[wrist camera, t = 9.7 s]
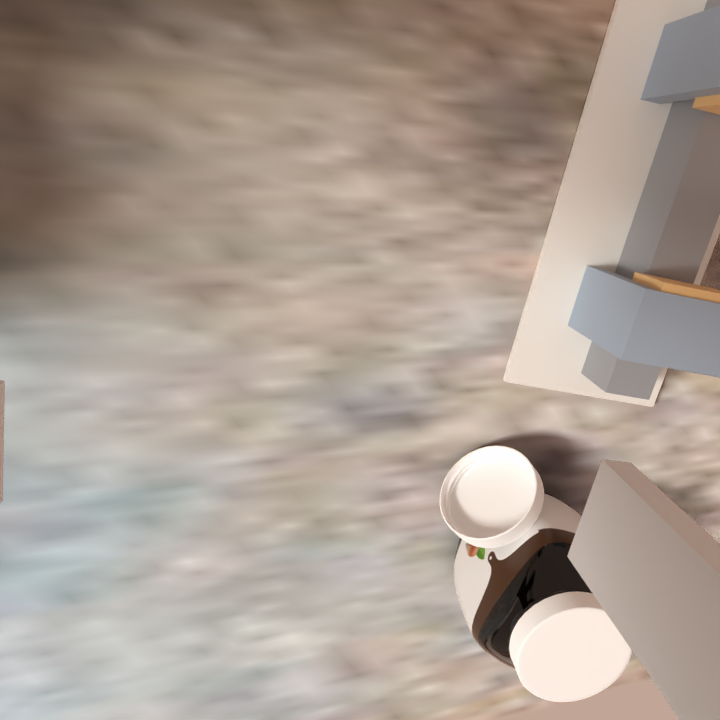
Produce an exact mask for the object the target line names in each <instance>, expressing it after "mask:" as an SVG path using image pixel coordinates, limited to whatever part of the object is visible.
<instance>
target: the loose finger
mask: <svg viewBox="0 0 720 720" xmlns="http://www.w3.org/2000/svg"><path fill="white" fill-rule="evenodd" d="M568 326H569V327H571V328H572V329H574V330H575V331H577V332H579V333H580V334H582V335H583V336H585V337H586V338H588V339H590V340H591V341H593V342H594V343H596V344H597V345H599V346H600V347H602V348H604V349H605V350H607V351H608V352H610V353H611V354H613V355H614V356H616V357H618V358H619V359H621V360H625V361H631V362H637V363H642V364H648V365H653V366H659V367H664V368H670V369H675V370H681V371H686V372H692V373H697V374H703V375H708V376H714V377H719V378H720V290H717V289H714V288H710V287H706V286H701V285H696V284H691V283H686V282H681V281H676V280H672V279H667V278H662V277H657V276H652V275H647V274H643V273H638V272H635V273H634V276H633V279H632V280H631V279H629V278H626V277H623V276H621V275H618V274H615V273H613V272H610V271H608V270H605V269H601V268H596V267H591V266H587V267H586V270H585V273H584V276H583V279H582V282H581V285H580V288H579V291H578V295H577V298H576V301H575V304H574V307H573V310H572V313H571V316H570V319H569V322H568Z"/></svg>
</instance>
